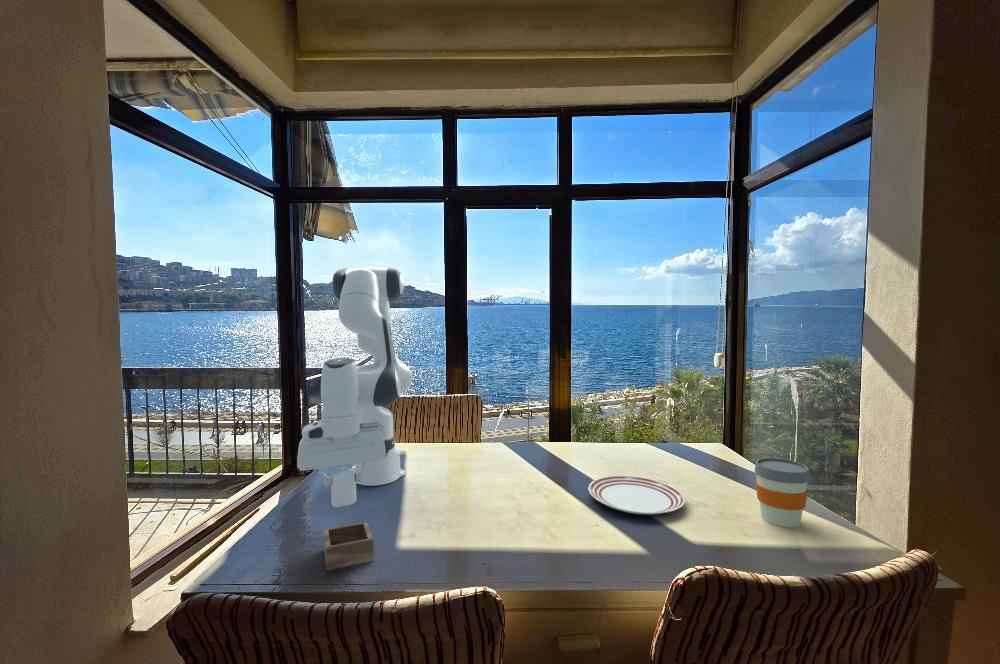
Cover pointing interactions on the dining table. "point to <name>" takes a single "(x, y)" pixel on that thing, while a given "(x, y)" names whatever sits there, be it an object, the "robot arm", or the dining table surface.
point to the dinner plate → (636, 494)
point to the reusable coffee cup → (781, 490)
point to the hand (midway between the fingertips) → (343, 482)
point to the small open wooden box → (348, 545)
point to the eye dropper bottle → (343, 486)
